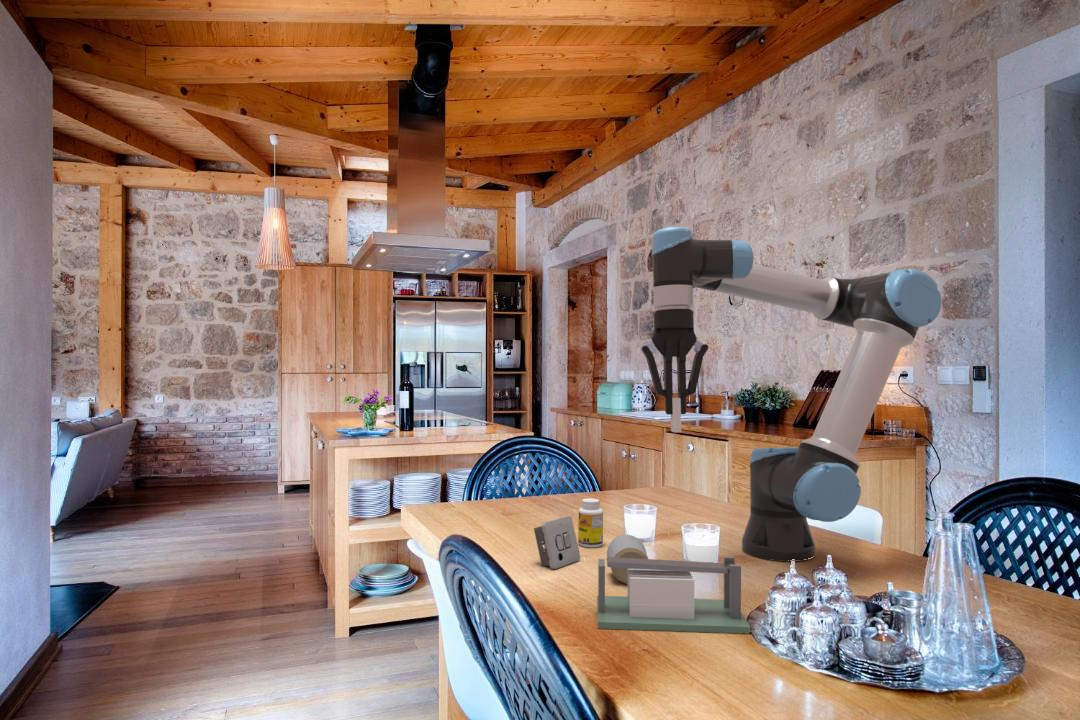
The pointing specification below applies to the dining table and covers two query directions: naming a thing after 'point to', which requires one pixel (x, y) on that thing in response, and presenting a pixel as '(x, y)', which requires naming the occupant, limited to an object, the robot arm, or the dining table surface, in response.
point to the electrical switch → (557, 542)
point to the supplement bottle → (590, 524)
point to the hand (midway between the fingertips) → (676, 431)
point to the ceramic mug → (625, 553)
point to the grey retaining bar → (669, 565)
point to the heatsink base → (671, 603)
